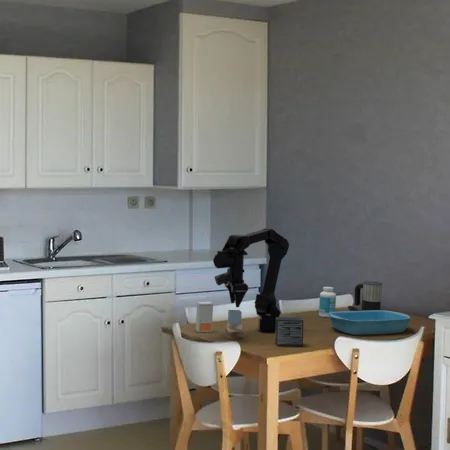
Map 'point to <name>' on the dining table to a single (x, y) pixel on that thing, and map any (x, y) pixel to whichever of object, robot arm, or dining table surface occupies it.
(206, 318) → the skincare box
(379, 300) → the milk frother
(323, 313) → the pill bottle
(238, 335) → the tower base
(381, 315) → the casserole dish
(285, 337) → the small box
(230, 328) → the tower mid
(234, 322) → the blue cube
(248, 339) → the dining table surface
